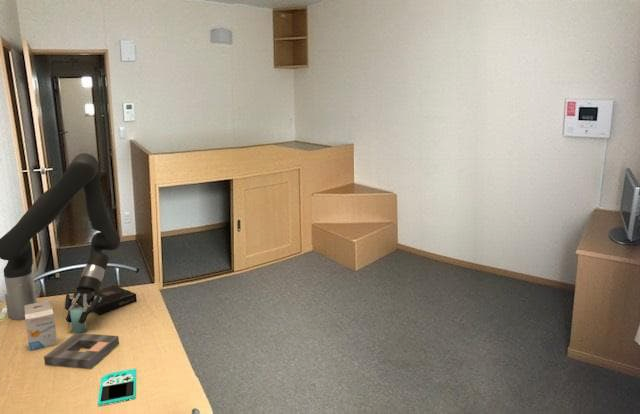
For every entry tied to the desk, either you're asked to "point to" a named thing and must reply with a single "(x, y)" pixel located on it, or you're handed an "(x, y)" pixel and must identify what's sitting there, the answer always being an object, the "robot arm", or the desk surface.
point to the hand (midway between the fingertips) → (74, 322)
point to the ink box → (40, 325)
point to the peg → (77, 320)
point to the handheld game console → (117, 387)
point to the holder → (72, 357)
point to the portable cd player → (113, 299)
